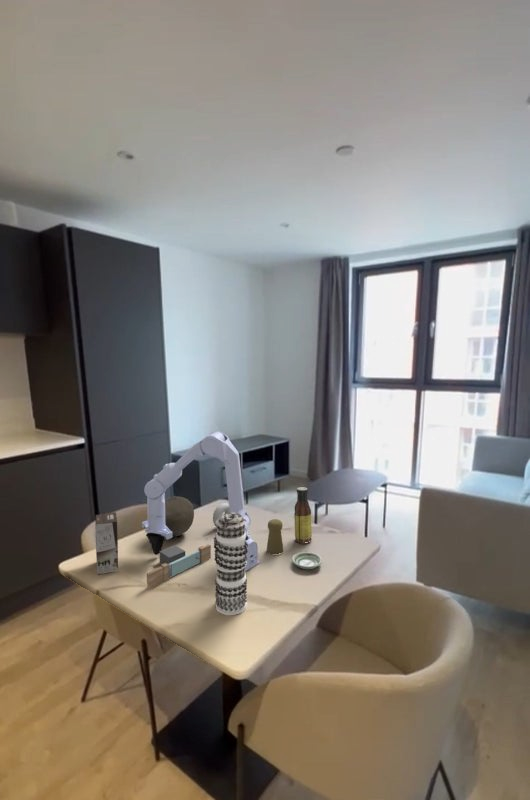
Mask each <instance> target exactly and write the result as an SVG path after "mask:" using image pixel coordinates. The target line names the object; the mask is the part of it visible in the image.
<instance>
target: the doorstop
mask: <svg viewBox="0 0 530 800" xmlns="http://www.w3.org/2000/svg"><path fill="white" fill-rule="evenodd" d="M158 555H159V563H160V564H161V565H162V564H164V563H166V564H170V563H172V562H174V561H176V560H178V559H180V558H182V557H184V556H186V551H185V550H184V549H183V548H180V547H179V546H177V545H176V544H175V545H172V546H169V547H167V548H165V549H162V550H161V551H159V554H158Z"/></svg>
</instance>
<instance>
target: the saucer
mask: <svg viewBox="0 0 530 800" xmlns="http://www.w3.org/2000/svg"><path fill="white" fill-rule="evenodd" d="M291 561H292V562H293V564H294V565H295V566H297V567H298V568H300V569H303V570H312V569H316V568H317V567H319V566H320V565H321V564H322V561H323V559H322V557H321V556H320V555H319V554H317V553H314V552H310V551H309V552H308V551H301V552H298V553H295V554H293V556H292V558H291Z"/></svg>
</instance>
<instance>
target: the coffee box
mask: <svg viewBox="0 0 530 800" xmlns="http://www.w3.org/2000/svg"><path fill="white" fill-rule="evenodd" d="M94 525H95V526H94V527H95V553H96V574H97V575H100V574H99V573H102V574H106V572H108V573H115V572H117V571H119V543H118V541H119V540H118V536H119V535H118V517H117V512H116V511H114V512H105V513H101V514H95V524H94Z"/></svg>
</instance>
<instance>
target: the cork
mask: <svg viewBox="0 0 530 800" xmlns="http://www.w3.org/2000/svg"><path fill="white" fill-rule="evenodd" d="M283 527H284V525H283V522H282V521H281V520H279V519H275V518H274V519H270V520H269V521H268V523H267V529H268V537H267V543H266V550H267V551H266V553H267V552H268V553H270V554H269V555H271V554H279V553H282V552H283V553H284V545H283V544H284V543H283V535H282V529H283ZM268 553H267V554H268ZM283 553H282V554H283Z"/></svg>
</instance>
